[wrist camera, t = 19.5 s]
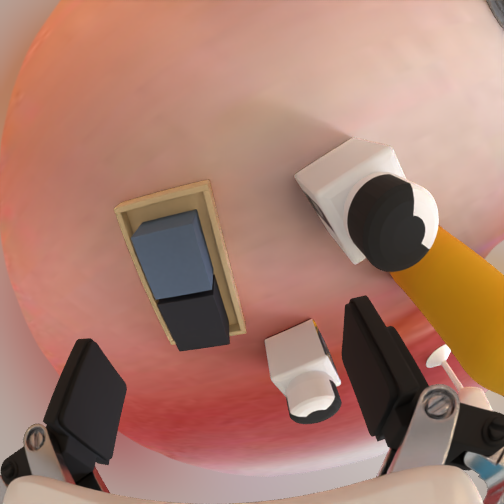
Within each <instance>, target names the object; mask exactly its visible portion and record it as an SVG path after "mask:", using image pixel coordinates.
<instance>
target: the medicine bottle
mask: <svg viewBox="0 0 504 504" xmlns="http://www.w3.org/2000/svg"><path fill="white" fill-rule="evenodd" d="M265 347H266V353H267V359H268V365H269V372H270V378H271V380H272V382H273V383H274V384H275V385H276V386H277V387H278V388H279V390H280V391H281V392H282V393H283V394H284V395H285V396H286V400H287V405H288V410H289V415H290V418H291V419H292V420H293V421H295V422H297V423H300V424H313V423H318V422H321V421H324V420H326V419H328V418H330V417H331V416H333V415H334V414H335V413H336V412H337V411H338V410H339V408H340V406H341V399H340V396H339V393H338V391H337V388H336V386H339V385H340V384H341V381H340V378H339V375H338V373H337V370H336V368H335V365H334V362H333V360H332V357H331V355H330V352H329V349H328V347H327V345H326V343H325V341H324V339H323V337H322V335H321V333H320V331H319V329H318V327H317V325H316V323H315V321H314V320H313V319H310V320H308V321H306V322H304V323H301V324H299V325H297V326H295V327H293V328H290V329H288V330H286V331H283V332H281V333H279V334H277V335H274V336H272V337H270V338H267V339H265Z"/></svg>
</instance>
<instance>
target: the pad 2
mask: <svg viewBox="0 0 504 504" xmlns="http://www.w3.org/2000/svg"><path fill="white" fill-rule="evenodd" d="M157 305H158V308H159V310H160V312H161V314H162V316H163V318H164V321H165V323H166V325H167V327H168V329H169V331H170V333H171V335H172V337H173V339H174V341H175V343H176V345H177V347H178V349H179V351H186V350H194V349H201V348H208V347H215V346H221V345H227V344H230V338H229V320H228V316H227V313H226V310H225V307H224V303H223V300H222V297H221V294H220V290H219V287H218V284H217V280H216V277H215V274H213V283H212V290H208V291H202V292H197V293H191V294H186V295H180V296H175V297H169V298H163V299H159V301H158V304H157Z"/></svg>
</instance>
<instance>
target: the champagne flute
mask: <svg viewBox="0 0 504 504" xmlns="http://www.w3.org/2000/svg"><path fill="white" fill-rule="evenodd" d="M450 351H451V350H450V349H449V347H448V346H447V345H446V344H445V345H443V346H441V347H439V348H438V349H437V350H435V351H434V352H433V353H432V354H431V356H430V357H429V358H428V360H427V362H426V366H427V367H428V368H431V367H435V366H439V365H442V366H443V368H444V369H445V371H446V372H447V374H448V375H449V377H450V379H451V380H452V382H453V383H454V385H455V386H456V388H457V390H458V391H459V392H458V394H457V395H458V397H459V400H460V403H464V404H467V405H471V406H475V407H478V408H482V409H486V410H490V411H493V410H492V408H491V406H490V404H489V402H488V400H487V398H486V396H485V394H484V392H483V390H482V389H481V388H478V387H464V388H463V386H462V385H461V383H460V381H459V380H458V378H457V377H456V375H455V374H454V372H453V371H452V369H451V368H450V366H449V365H448V363H447V362H446V360H447V358H448V356H449V354H450Z"/></svg>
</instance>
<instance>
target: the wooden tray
mask: <svg viewBox="0 0 504 504" xmlns="http://www.w3.org/2000/svg"><path fill="white" fill-rule="evenodd" d="M195 209H197V211H198V215H199V219H200V222H201V226H202V230H203V233H204V237H205V241H206V244H207V248H208V251H209V255H210V258H211V262H212V265H213V269H214V270H213V274H215V277H216V280H217V284H218V287H219V290H220V294H221V297H222V300H223V303H224V307H225V310H226V313H227V316H228V320H229V336H233V335H239V334H245V333H246V323H245V319H244V315H243V311H242V308H241V304H240V300H239V296H238V293H237V289H236V285H235V281H234V277H233V273H232V269H231V266H230V262H229V258H228V254H227V250H226V246H225V242H224V238H223V234H222V230H221V226H220V222H219V218H218V214H217V210H216V205H215V201H214V197H213V193H212V189H211V185H210V180H204V181H200V182H196V183H192V184H188V185H183V186H179V187H175V188H172V189H168V190H164V191H160V192H156V193H153V194H149V195H145V196H142V197H138V198H135V199H131V200H128V201H125V202H121V203H120V204H119V205H118V206H117V207H115V208H114V211H115V214H116V217H117V220H118V223H119V225H120V228H121V231H122V234H123V236H124V239H125V242H126V244H127V247H128V250H129V252H130V255H131V257H132V260H133V262H134V265H135V267H136V270H137V272H138V275H139V277H140V279H141V282H142V284H143V286H144V289H145V291H146V293H147V295H148V298H149V300H150V302H151V304H152V306H153V309H154V311H155V313H156V315H157V317H158V319H159V321H160V323H161V325H162V327H163V329H164V331H165V333H166V335H167V337H168V339H169V341H170V343H171V345H173V344H176V343H175V341H174V339H173V337H172V335H171V333H170V331H169V329H168V327H167V325H166V323H165V321H164V318H163V316H162V314H161V312H160V310H159V308H158V305H157V304H158V301H159V299H157V300H156V299H155V297H154V295H153V293H152V290H151V288H150V286H149V283H148V281H147V278H146V276H145V274H144V271H143V269H142V266H141V264H140V261H139V259H138V256H137V253H136V251H135V248H134V246H133V243H132V240H131V237H132V236H133V234H134V233H135V231H136V230H137V229H138V227H139V226H140V225H141V223H142V222H145V221H149V220H153V219H157V218H161V217H165V216H169V215H174V214H178V213H182V212H186V211H191V210H195Z"/></svg>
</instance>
